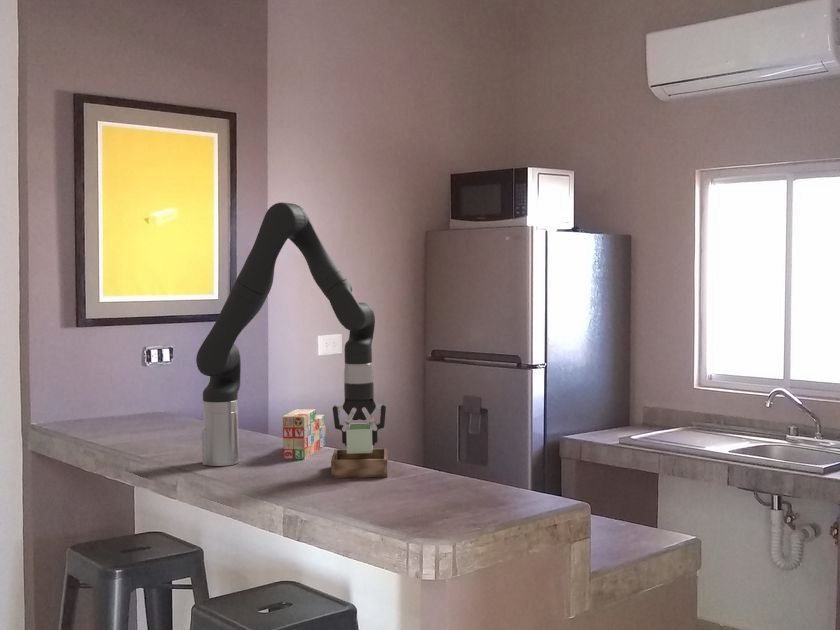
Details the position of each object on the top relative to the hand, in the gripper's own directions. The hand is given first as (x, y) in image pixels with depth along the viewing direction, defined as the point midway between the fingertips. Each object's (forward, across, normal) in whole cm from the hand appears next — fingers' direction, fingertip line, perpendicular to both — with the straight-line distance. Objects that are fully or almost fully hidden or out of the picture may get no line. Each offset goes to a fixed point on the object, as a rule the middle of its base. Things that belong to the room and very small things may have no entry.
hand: (360, 444), depth 245 cm
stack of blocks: (+7, -17, +28) cm, 33 cm away
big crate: (+7, 0, 0) cm, 7 cm away
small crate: (+1, 0, 0) cm, 1 cm away
